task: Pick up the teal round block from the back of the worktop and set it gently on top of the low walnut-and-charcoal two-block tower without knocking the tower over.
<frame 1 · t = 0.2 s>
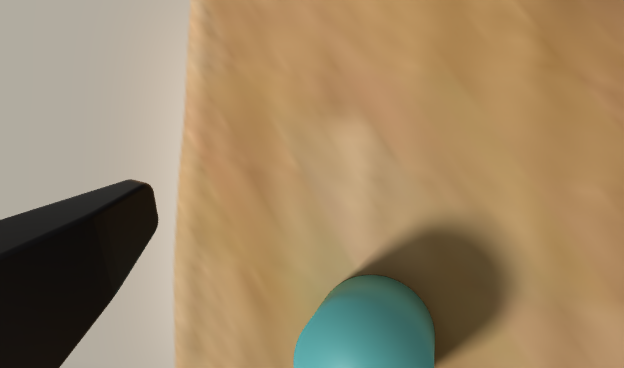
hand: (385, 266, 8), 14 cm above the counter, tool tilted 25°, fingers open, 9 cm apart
teal round block: (374, 332, 23), on the counter
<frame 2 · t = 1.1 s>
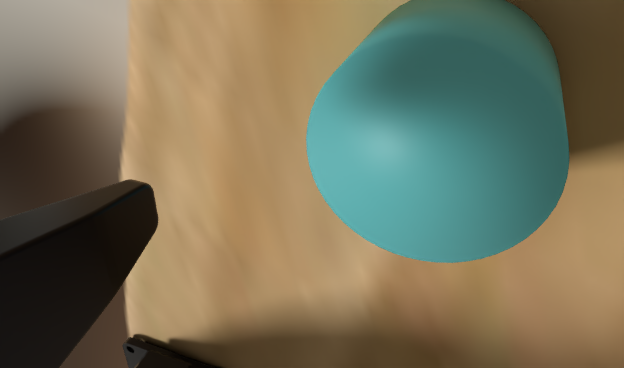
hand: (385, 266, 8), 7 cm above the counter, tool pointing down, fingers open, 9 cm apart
teal round block: (449, 93, 14), on the counter
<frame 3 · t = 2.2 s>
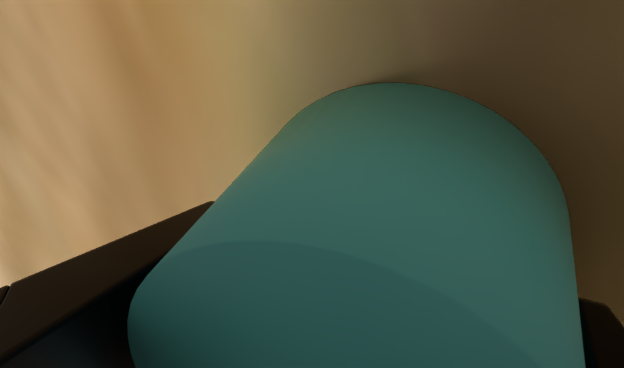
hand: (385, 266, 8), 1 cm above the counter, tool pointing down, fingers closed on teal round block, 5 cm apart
teal round block: (398, 227, 9), on the counter, touching gripper
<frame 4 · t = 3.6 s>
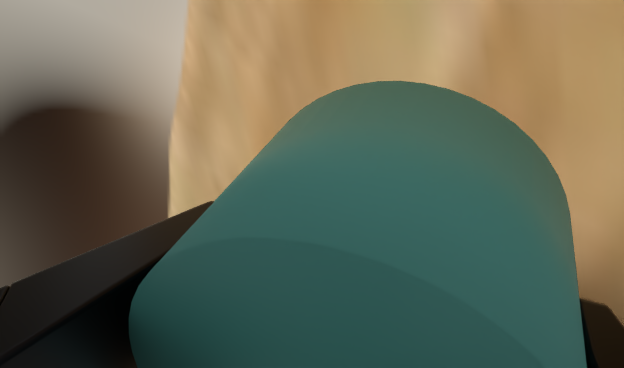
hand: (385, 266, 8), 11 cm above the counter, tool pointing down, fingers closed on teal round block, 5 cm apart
teal round block: (399, 226, 9), point 10 cm above the counter, touching gripper
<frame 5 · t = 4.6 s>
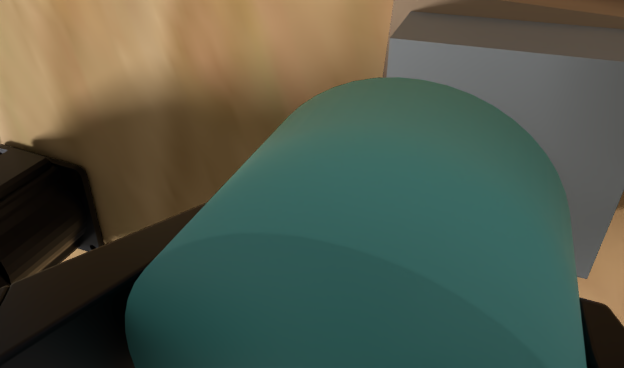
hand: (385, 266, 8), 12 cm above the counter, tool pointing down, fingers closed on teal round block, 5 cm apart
teal round block: (398, 224, 9), point 11 cm above the counter, touching gripper
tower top: (499, 121, 16), point 2 cm above the counter, touching tower base
tower base: (499, 94, 19), on the counter, touching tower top
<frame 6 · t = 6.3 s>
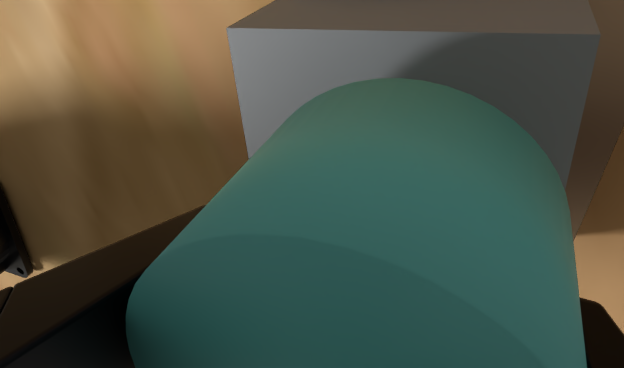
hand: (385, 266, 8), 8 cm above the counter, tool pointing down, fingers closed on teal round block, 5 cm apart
teal round block: (398, 224, 9), point 7 cm above the counter, touching gripper
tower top: (415, 126, 13), point 2 cm above the counter, touching tower base
tower base: (448, 94, 15), on the counter, touching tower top
when the fingers open (8 cm above the counter, at t = 6.5 s): teal round block drops 1 cm, point 5 cm above the counter.
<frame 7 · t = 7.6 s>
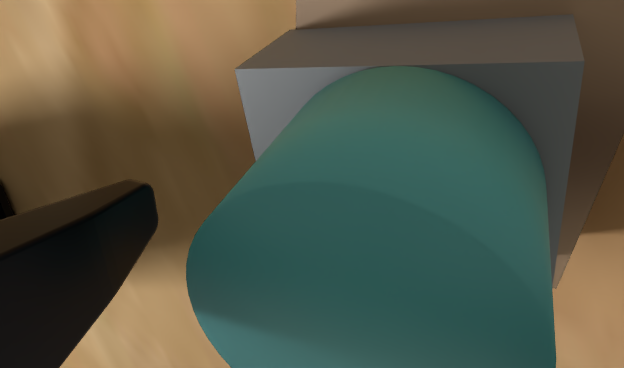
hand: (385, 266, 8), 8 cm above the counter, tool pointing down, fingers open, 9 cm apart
teal round block: (402, 191, 10), point 5 cm above the counter
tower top: (420, 146, 13), point 2 cm above the counter, touching tower base
tower base: (452, 94, 15), on the counter, touching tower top
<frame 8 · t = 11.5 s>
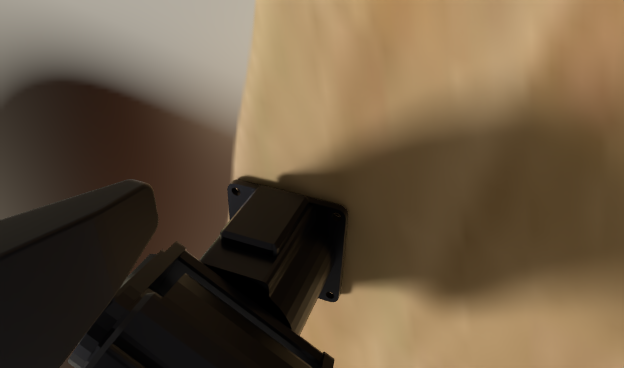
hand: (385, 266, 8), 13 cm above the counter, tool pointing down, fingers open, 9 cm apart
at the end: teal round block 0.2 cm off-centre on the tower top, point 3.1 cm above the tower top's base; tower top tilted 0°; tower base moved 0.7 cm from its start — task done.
